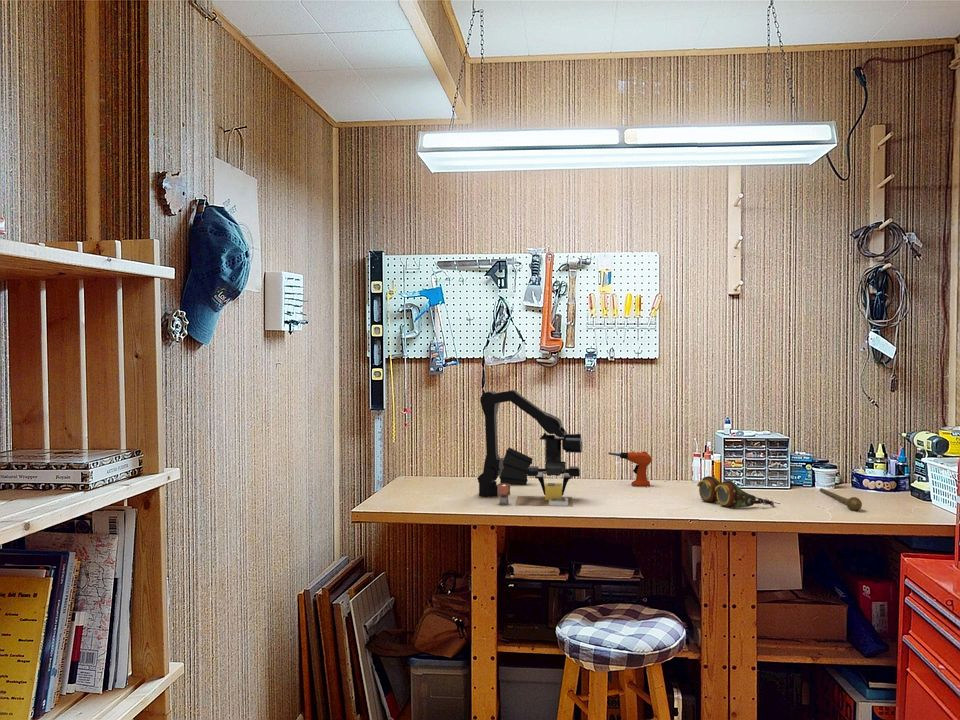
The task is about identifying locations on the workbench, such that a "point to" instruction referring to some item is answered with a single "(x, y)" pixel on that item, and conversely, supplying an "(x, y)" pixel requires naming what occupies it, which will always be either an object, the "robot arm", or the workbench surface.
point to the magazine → (515, 468)
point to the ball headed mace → (845, 500)
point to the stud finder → (553, 490)
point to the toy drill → (638, 466)
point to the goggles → (727, 494)
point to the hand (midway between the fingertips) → (553, 495)
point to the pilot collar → (558, 501)
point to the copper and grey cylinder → (503, 493)
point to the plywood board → (537, 501)
